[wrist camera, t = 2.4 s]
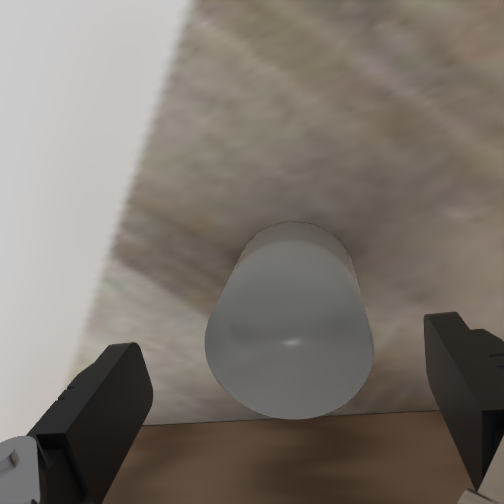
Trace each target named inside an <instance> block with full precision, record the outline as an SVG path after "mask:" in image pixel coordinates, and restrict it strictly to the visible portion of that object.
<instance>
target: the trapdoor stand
mask: <svg viewBox="0 0 504 504" xmlns="http://www.w3.org/2000/svg"><path fill="white" fill-rule="evenodd" d="M469 488H470V489H472V490H474V491H475V489H474V486H473V484H472V482H471V479H470V477H469V475H468V473H467V470H466V468H465V466H464V463H463V461H462V459H461V457H460V454H459V452H458V450H457V447H456V445H455V443H454V441H453V438H452V436H451V434H450V431H449V429H448V427H447V425H446V422H445V420H444V418H443V415H442V413H441V411H425V412H406V413H386V414H367V415H347V416H328V417H314V418H308V419H270V420H250V421H231V422H212V423H192V424H173V425H153V426H141V428H140V430H139V432H138V434H137V436H136V438H135V440H134V442H133V444H132V446H131V448H130V450H129V452H128V454H127V456H126V457H125V459H124V461H123V463H122V465H121V467H120V469H119V471H118V473H117V475H116V477H115V479H114V481H113V483H112V485H111V487H110V489H109V491H108V493H107V495H106V497H105V498H104V500H103V502H102V504H457V503H458V501H459V499H460V497H461V496H462V494H463V493H464V491H465V490H467V489H469Z"/></svg>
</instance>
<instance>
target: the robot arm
mask: <svg viewBox="0 0 504 504" xmlns="http://www.w3.org/2000/svg"><path fill="white" fill-rule="evenodd" d="M424 337H425V355H426V369H427V375H428V380H429V384H430V387H431V390H432V393H433V395H434V397H435V399H436V402H437V404H438V406H439V409H440V411H441V413H442V415H443V418H444V420H445V422H446V425H447V427H448V429H449V431H450V434H451V436H452V438H453V441H454V443H455V445H456V447H457V450H458V452H459V454H460V457H461V459H462V461H463V463H464V466H465V468H466V470H467V473H468V475H469V477H470V479H471V482H472V484H473V486H474V489H475V491H474V490H472V489H470V488H469V489H467V490H465V491H464V493H463V494H462V496H461V497H460V499H459V501H458V503H457V504H504V342H503V341H502V340H501V339H500V338H498V337H496V336H494V335H493V334H491V333H489V332H487V331H486V330H484V329H476V330H470V329H469V328H468V327H467V325H466V324H465V322H464V321H463V320H462V318H461V317H460V315H459V314H458V313H457V312H445V313H435V314H426V315H425V316H424ZM152 402H153V388H152V384H151V381H150V377H149V374H148V371H147V368H146V365H145V361H144V358H143V355H142V352H141V349H140V347H139V345H138V344H137V343H135V342H132V343H122V344H112V345H109V346H108V347H107V348H106V349H105V350H104V352H103V353H102V354H101V355H100V356H99V358H98V359H97V360H96V361H95V362H94V363H93V364H91V365H90V366H89V367H87V368H86V369H85V370H83V371H82V372H81V373H79V374H78V375H77V376H76V377H75V378H74V380H73V381H72V382H71V383H70V384H69V385H68V387H67V390H64V391H63V392H62V394H61V395H60V396H59V397H58V400H57V401H55V402H54V403H53V404H52V405H51V407H50V408H49V409H48V410H47V411H46V413H45V414H44V415H43V416H42V417H41V418H40V420H39V421H38V422H37V423H36V424H35V426H34V427H33V428H32V429H31V430H30V431H29V433H28V434H27V435H26V436H18V437H14V438H11V439H8V440H6V441H3V442H1V443H0V504H102V502H103V500H104V498H105V497H106V495H107V493H108V491H109V489H110V487H111V485H112V483H113V481H114V479H115V477H116V475H117V473H118V471H119V469H120V467H121V465H122V463H123V461H124V459H125V457H126V456H127V454H128V452H129V450H130V448H131V446H132V444H133V442H134V440H135V438H136V436H137V434H138V432H139V430H140V428H141V426H142V424H143V422H144V420H145V418H146V417H147V415H148V413H149V411H150V409H151V406H152Z"/></svg>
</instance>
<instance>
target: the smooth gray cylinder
mask: <svg viewBox="0 0 504 504" xmlns="http://www.w3.org/2000/svg"><path fill="white" fill-rule="evenodd" d="M205 351H206V357H207V361H208V364H209V367H210V369H211V371H212V373H213V375H214V377H215V378H216V380H217V381H218V383H219V384H220V385H221V386H222V388H223V389H224V390H225V391H226V392H227V393H228V394H229V395H230V396H231V397H232V398H234V399H235V400H236V401H238V402H239V403H240V404H242V405H244V406H245V407H247V408H249V409H251V410H253V411H255V412H258V413H260V414H263V415H267V416H270V417H275V418H280V419H308V418H314V417H318V416H322V415H325V414H327V413H330V412H332V411H334V410H336V409H338V408H340V407H341V406H343V405H344V404H346V403H347V402H348V401H350V400H351V399H352V398H353V397H354V396H355V395H356V394H357V393H358V392H359V391H360V389H361V388H362V386H363V385H364V383H365V382H366V380H367V378H368V376H369V373H370V370H371V367H372V363H373V355H374V350H373V340H372V335H371V331H370V327H369V323H368V319H367V315H366V311H365V308H364V304H363V300H362V296H361V292H360V288H359V285H358V281H357V277H356V273H355V269H354V265H353V262H352V259H351V257H350V255H349V253H348V251H347V249H346V248H345V247H344V245H343V244H342V243H341V242H340V241H339V240H338V238H336V237H335V236H334V235H333V234H331V233H330V232H328V231H327V230H325V229H323V228H321V227H319V226H316V225H313V224H310V223H304V222H284V223H279V224H276V225H273V226H270V227H268V228H266V229H264V230H262V231H261V232H259V233H258V234H256V235H255V236H254V237H253V238H252V239H251V240H250V241H249V242H248V243H247V245H246V246H245V248H244V249H243V251H242V253H241V255H240V257H239V259H238V261H237V263H236V265H235V267H234V269H233V271H232V273H231V275H230V277H229V279H228V281H227V283H226V285H225V287H224V290H223V292H222V294H221V296H220V298H219V300H218V302H217V304H216V306H215V308H214V310H213V312H212V314H211V317H210V319H209V321H208V324H207V328H206V333H205Z"/></svg>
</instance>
